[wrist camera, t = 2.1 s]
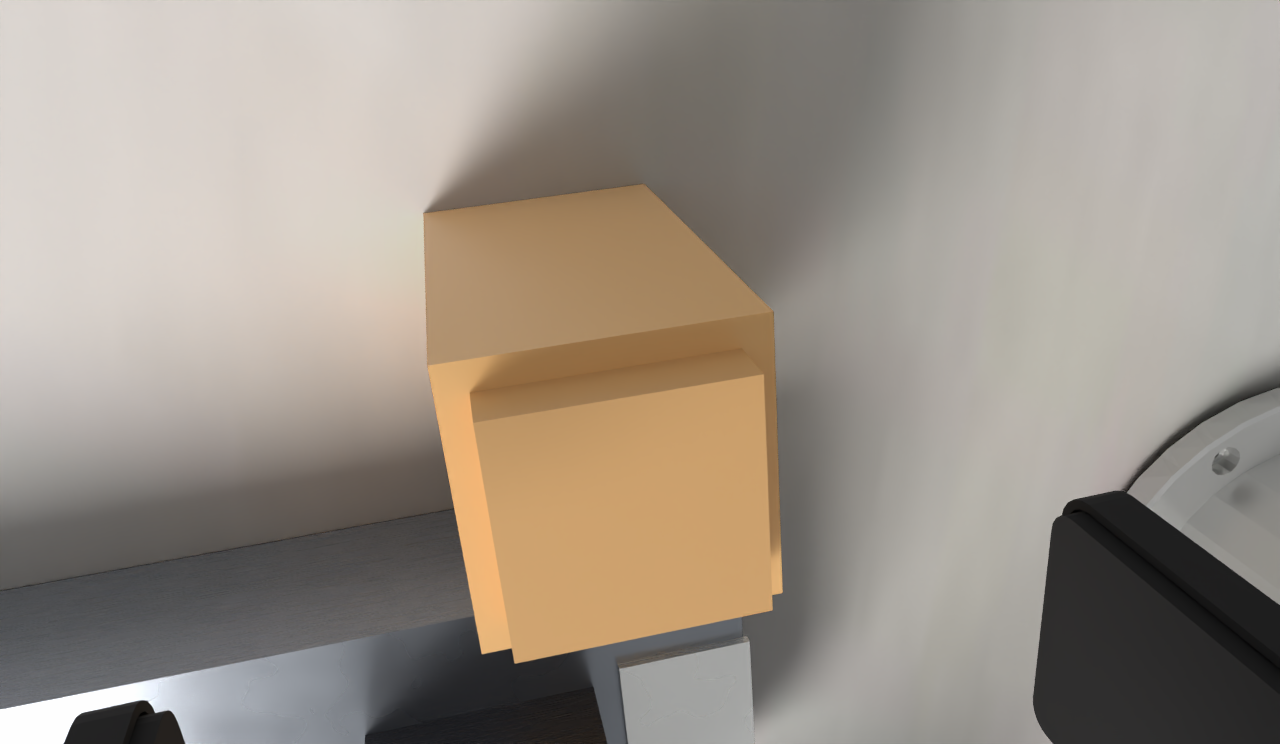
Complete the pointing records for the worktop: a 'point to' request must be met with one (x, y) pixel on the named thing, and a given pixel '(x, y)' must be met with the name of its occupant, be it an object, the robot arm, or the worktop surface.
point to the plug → (601, 420)
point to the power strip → (346, 654)
